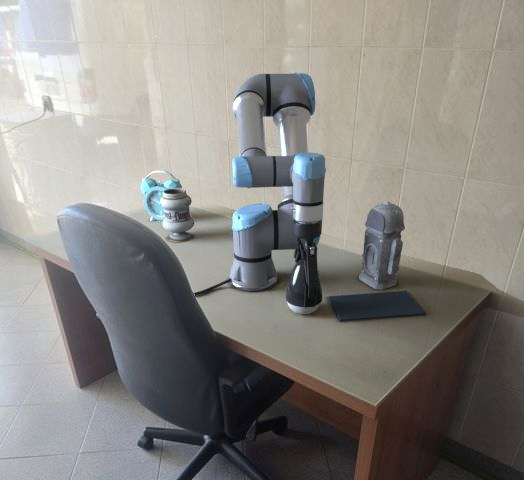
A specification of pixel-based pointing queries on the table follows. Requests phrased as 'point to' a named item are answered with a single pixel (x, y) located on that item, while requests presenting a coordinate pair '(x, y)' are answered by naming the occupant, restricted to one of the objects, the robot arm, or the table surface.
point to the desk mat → (375, 306)
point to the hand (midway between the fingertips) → (304, 295)
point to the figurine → (382, 245)
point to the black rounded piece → (301, 290)
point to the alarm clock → (156, 194)
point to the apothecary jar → (177, 214)
